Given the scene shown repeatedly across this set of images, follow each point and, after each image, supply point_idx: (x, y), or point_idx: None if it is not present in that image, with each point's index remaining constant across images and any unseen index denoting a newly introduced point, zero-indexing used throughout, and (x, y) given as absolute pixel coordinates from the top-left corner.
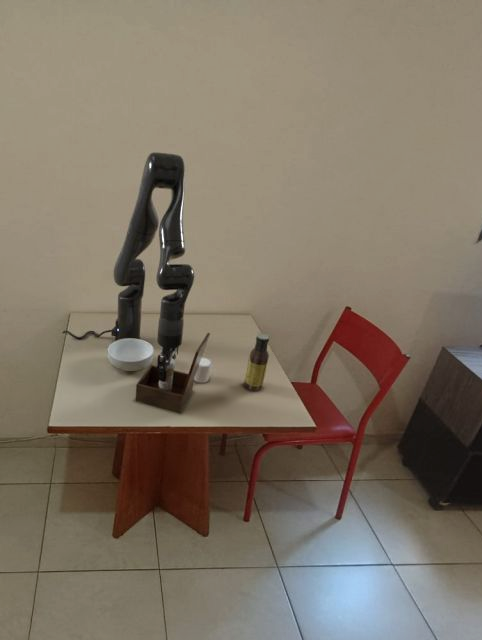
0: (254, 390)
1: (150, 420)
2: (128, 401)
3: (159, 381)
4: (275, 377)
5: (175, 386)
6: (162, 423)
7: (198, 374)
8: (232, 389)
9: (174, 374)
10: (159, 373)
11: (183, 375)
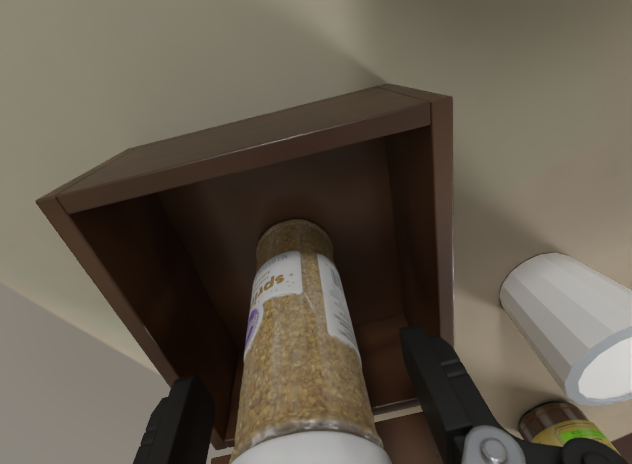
0: (519, 430)
1: (82, 300)
2: (83, 112)
3: (257, 296)
4: (623, 430)
5: (398, 254)
6: (117, 341)
7: (527, 326)
8: (500, 390)
9: (427, 294)
10: (149, 457)
11: None
